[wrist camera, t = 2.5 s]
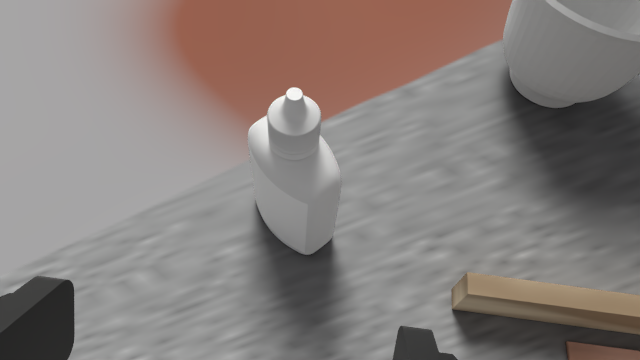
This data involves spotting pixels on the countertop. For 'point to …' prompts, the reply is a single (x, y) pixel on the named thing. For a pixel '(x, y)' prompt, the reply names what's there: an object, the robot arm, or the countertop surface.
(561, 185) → the countertop surface
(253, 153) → the eye dropper bottle
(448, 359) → the robot arm
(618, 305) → the tan l-shaped piece
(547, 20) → the teacup
